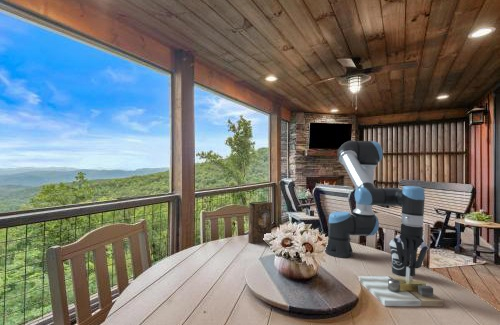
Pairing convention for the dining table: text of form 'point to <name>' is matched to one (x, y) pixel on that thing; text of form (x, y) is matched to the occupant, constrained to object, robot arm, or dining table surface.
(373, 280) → the door board
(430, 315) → the dining table surface
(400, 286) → the latch bar
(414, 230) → the robot arm
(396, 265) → the coffee cup
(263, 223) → the book
